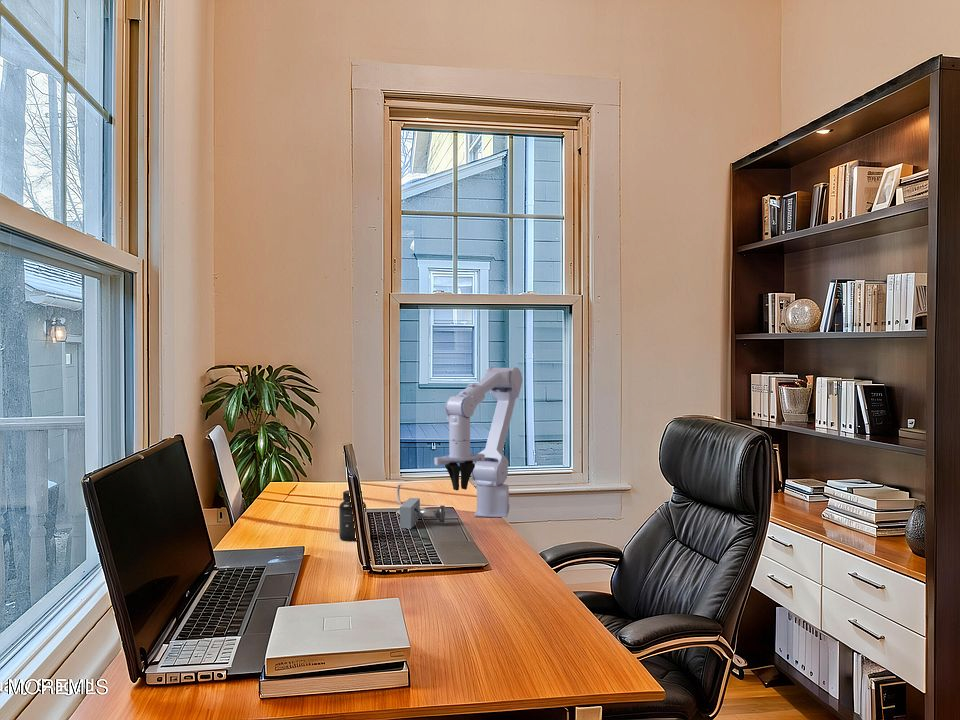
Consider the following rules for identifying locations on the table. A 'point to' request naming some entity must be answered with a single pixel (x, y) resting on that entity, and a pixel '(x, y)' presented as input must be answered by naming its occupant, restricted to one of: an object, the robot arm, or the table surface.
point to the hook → (399, 496)
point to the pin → (431, 513)
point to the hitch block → (409, 513)
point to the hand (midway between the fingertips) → (460, 489)
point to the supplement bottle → (346, 519)
